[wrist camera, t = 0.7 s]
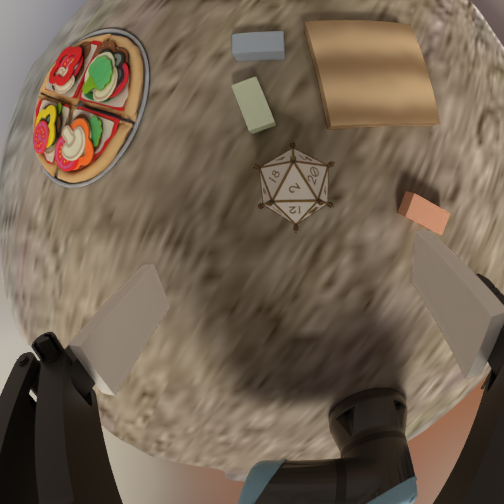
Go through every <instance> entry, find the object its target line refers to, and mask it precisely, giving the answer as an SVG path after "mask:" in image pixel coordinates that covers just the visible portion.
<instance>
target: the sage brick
mask: <svg viewBox="0 0 504 504" xmlns="http://www.w3.org/2000/svg"><path fill="white" fill-rule="evenodd" d="M231 86H232V89H233V91H234V94H235V96H236V99H237V101H238V104H239V107H240V109H241V112H242V114H243V117H244V119H245V122H246V125H247V127H248V130H249V131H250V132H251V133H252V134H254V133H257V132H259V131H262V130H265V129H268V128H271V127H274V126H276V123H275V121H274V118H273V116H272V113H271V111H270V108H269V106H268V103H267V101H266V98H265V96H264V93H263V91H262V88H261V86H260V84H259V82H258V79H257V77H256V76H255V77H253V78H250V79H247V80H244V81H242V82H239V83H236V84H234V85H231Z"/></svg>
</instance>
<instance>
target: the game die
mask: <svg viewBox="0 0 504 504" xmlns="http://www.w3.org/2000/svg"><path fill="white" fill-rule="evenodd" d="M290 145H291V146H290V147H291V149H290V150H288V151H286V152H284V153H283V154H281V155H279V156H278V157H276V158H274V159H272V160H271V161H269V162H267V163H266V164H264V165H262V166H259V165H257V163H256V164H252V165H253V167H254V168H256V169H259V173H260V182H261V191H262V201H263V203H262V204H261V203H260V204H259V205H258V207H257V208H260V209H262V208H263V207H264V206H266V207H267V208H269V209H271V210H272V211H274V212H275V213H277V214H279V215H280V216H282V217H283V218H285V219H287V220H288V221H290V222H291V223H293V224H294V229H293V230H294V231H295V232H296V233H297V231H298V230H299V229H298V224H299V223H300V222H302V221H303V220H305V219H306V218H308V217H309V216H310V215H312V214H313V213H315V212H316V211H318V210H319V209H321V208H322V207H324V206H325V205H328V206H329V207H334V206H333V204H332V203H331V202H328V170H329V167H332V166H333V165H334V163H335V162H331V161H330V163H328V164H327V165H326V164H324V163H322V162H320V161H318V160H316V159H314V158H313V157H311V156H309V155H307V154H305V153H303V152H301V151H299V150H297V149H295V148H294V147H295V143H294V142H293V141H292V142H291V143H290Z"/></svg>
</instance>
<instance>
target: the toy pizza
mask: <svg viewBox="0 0 504 504" xmlns="http://www.w3.org/2000/svg"><path fill="white" fill-rule="evenodd" d="M148 90H149V64H148V59H147V56H146V53H145V50H144V48H143V46H142V45H141V43H140V42H139V41H138V40H137V39H136V38H135V37H134V36H133V35H132V34H130V33H128V32H126V31H123V30H119V29H103V30H99V31H96V32H93V33H91V34H89V35H86V36H85V37H83V38H81V39H80V40H78V41H77V42H76V43H74V44H73V45H72V46H70V47H68V48H66V49H65V50H64V51H63V52H62V53H61V54H60V56H59V57H58V59H57V61H56V62H55V63H54V64H53V66H52V67H51V69H50V70H49V72H48V74H47V75H46V78H45V80H44V83H43V85H42V87H41V90H40V93H39V96H38V99H37V102H36V106H35V111H34V117H33V144H34V148H35V153H36V156H37V159H38V161H39V163H40V165H41V167H42V169H43V170H44V172H45V173H46V175H47V176H48V177H49V178H50V179H51V180H53V181H54V182H55V183H57V184H59V185H61V186H64V187H71V188H74V187H81V186H85V185H88V184H90V183H92V182H94V181H96V180H98V179H99V178H100V177H102V176H103V175H104V174H105V173H107V172H108V171H109V170H110V169H111V168H112V167H113V166H114V165H115V164H116V162H117V161H118V160H119V159H120V157H121V156H122V155H123V153H124V152H125V150H126V149H127V147H128V146H129V144H130V142H131V141H132V139H133V137H134V135H135V133H136V131H137V129H138V126H139V124H140V121H141V119H142V116H143V112H144V109H145V106H146V101H147V97H148Z"/></svg>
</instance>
